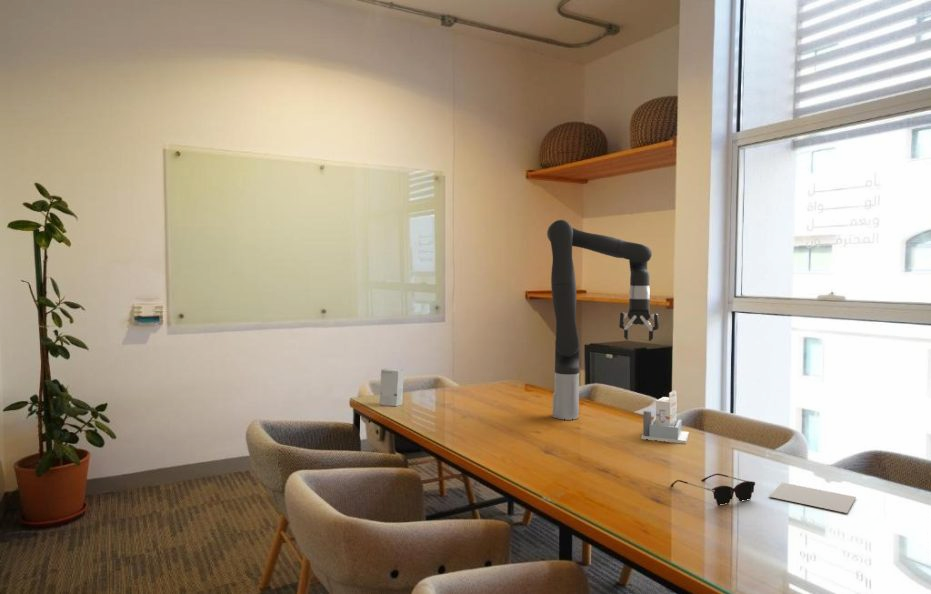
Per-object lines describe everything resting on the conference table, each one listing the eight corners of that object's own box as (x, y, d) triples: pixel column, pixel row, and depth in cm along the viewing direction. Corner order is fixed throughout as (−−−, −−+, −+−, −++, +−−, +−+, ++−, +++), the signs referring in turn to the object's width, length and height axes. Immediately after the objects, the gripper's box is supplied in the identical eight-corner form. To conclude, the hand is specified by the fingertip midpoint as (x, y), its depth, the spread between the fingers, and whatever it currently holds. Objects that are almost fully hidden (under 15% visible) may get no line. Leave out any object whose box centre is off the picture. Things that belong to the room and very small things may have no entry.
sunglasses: (714, 509, 148) (713, 487, 148) (666, 491, 163) (665, 472, 163) (756, 501, 154) (755, 480, 154) (706, 484, 168) (705, 466, 168)
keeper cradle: (641, 438, 210) (642, 412, 210) (646, 430, 222) (647, 405, 222) (685, 443, 204) (686, 416, 204) (688, 434, 216) (689, 408, 216)
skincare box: (379, 405, 260) (379, 369, 260) (386, 402, 266) (386, 367, 266) (397, 406, 258) (397, 370, 257) (403, 404, 263) (404, 368, 263)
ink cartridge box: (662, 429, 219) (662, 387, 218) (676, 431, 216) (677, 389, 216) (654, 434, 212) (655, 391, 211) (669, 437, 209) (670, 393, 208)
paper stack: (790, 476, 173) (790, 473, 173) (899, 497, 157) (900, 494, 157) (768, 499, 155) (768, 496, 155) (890, 525, 139) (890, 522, 139)
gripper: (618, 297, 238) (617, 340, 238) (657, 298, 232) (656, 342, 233) (622, 297, 245) (621, 338, 245) (660, 297, 239) (659, 340, 239)
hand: (638, 340), depth 239 cm, fingers open, 8 cm apart
